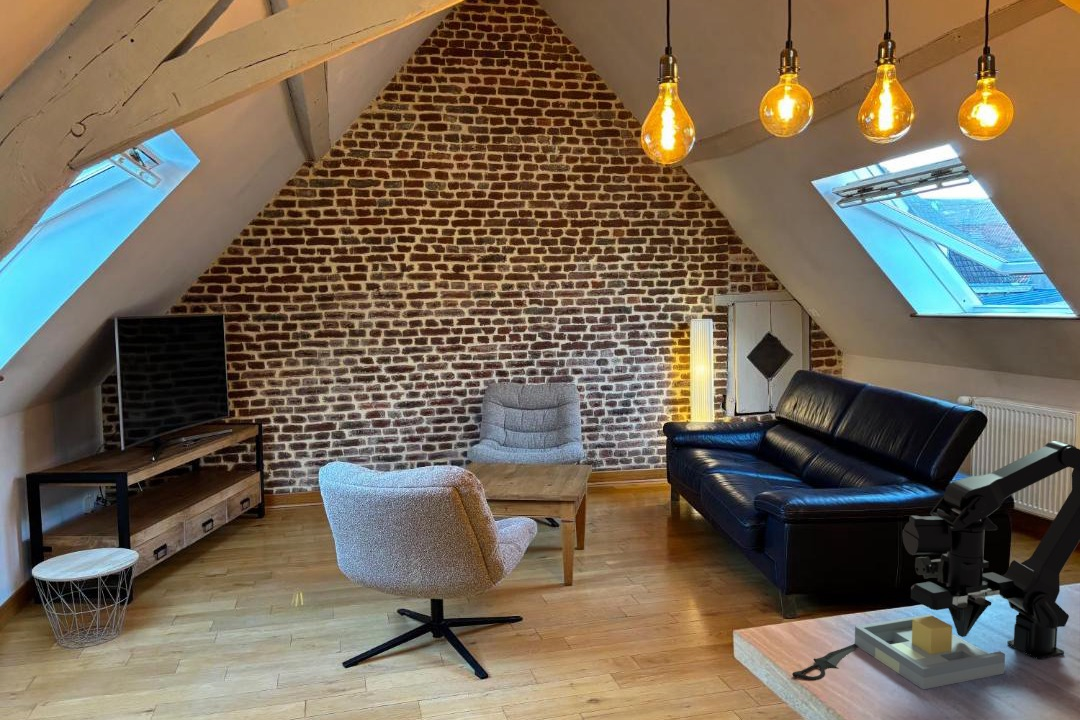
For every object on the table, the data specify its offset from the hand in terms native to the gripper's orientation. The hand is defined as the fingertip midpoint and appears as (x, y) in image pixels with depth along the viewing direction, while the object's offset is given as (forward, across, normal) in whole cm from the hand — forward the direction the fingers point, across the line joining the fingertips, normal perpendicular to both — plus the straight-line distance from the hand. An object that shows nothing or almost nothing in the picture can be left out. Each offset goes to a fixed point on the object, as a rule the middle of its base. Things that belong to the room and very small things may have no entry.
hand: (961, 635), depth 142 cm
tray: (+3, +8, 0) cm, 8 cm away
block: (+1, +7, 0) cm, 7 cm away
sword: (+4, +22, -5) cm, 23 cm away
